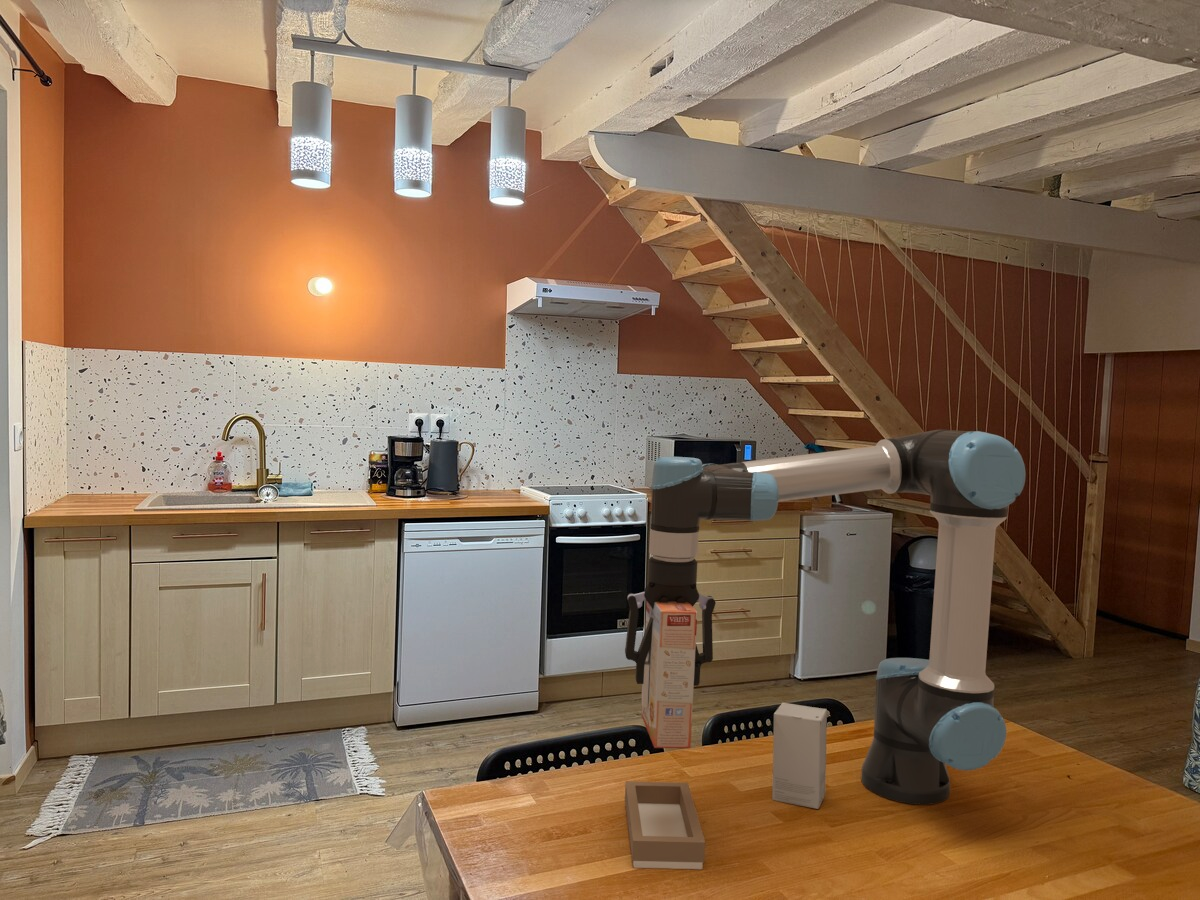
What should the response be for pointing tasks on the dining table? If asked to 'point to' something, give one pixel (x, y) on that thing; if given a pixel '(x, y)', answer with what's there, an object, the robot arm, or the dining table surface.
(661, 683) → the cracker box
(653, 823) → the tray
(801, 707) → the skincare box
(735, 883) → the dining table surface
